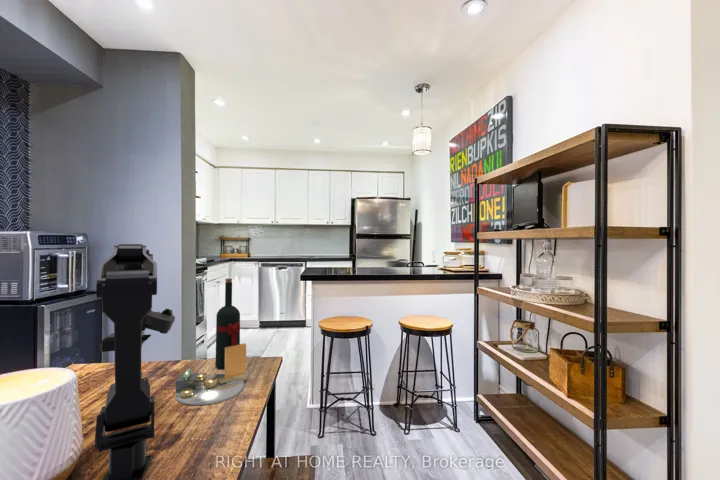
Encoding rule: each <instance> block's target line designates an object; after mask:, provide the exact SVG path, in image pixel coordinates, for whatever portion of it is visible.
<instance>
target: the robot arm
mask: <svg viewBox="0 0 720 480" xmlns="http://www.w3.org/2000/svg"><path fill="white" fill-rule="evenodd" d="M95 288H96V289H95V290H96V292H95V293H96V295H95V296H96V299H97V300H99V299H101V312H102V313H103V314H104V315H105V316H106V317H107V318H108V319H109V321H111V322H112V323H113V332H112V333H110V334H109V335H108V336H106V337H104V339H102V340H101V341H100V342H99V348H100V349H99V351H100V352H103V353H105V352H114V382H113V383H111V384H110V386H109V387H108V388H109V389H108V392H107V393H106V394H107V395H106V400H105V405H104V406H101V410H100V411H99V414H98V415H97V416H96V422H95V435H94V449H97V451H98V453H101V452H104V451H107V450H108V470H107V471H106V473H105V474H104V475H103V478H102V479H101V480H142V479H143V477H144V476H145V473H146V471H147V470H148V467H149V465H150V463H151V461H152V457H153V455H151V454H150V455H147V450H146V449H147V448H146V447H147V440H149V439H155V396H154V395H152V396H151V384H150V380H149V379H148V378H147V377H144V378H141V372H142V347H143V345H144V343H145V342H146V341H148V339H149V338H151V336H152V334H146V333H145V331H146V329H148V330H151V331H156V332H158V333H160V334H162V335H165V334H166V335H167V334H168V333H169V331H170V330H171V328H172V327H173V324H174V322H175V319H176V316H175V315H174V314H173V309H170V308H165V309H164V310H163V311H161V312H160V311H155V310H154V311H153V310H152V309H153V296H157V295H158V263H157V262H156V261H155V260H154V254H153V253H150V249H147V245H144V244H141V243H119V244H117V245H115V244H114V245H113V251H112V254H111V255H110V256H108V257H107V258H106V259H105V260H103V261H102V262H100V264H99V266H98V271H97V277H96V286H95ZM149 422H150V423H149ZM146 423H149V424H146ZM144 424H145V425H144ZM139 425H141V426H139ZM135 426H137V427H135ZM131 427H133V428H131ZM126 428H129V429H126ZM123 429H124V430H123ZM119 430H121V431H119ZM114 431H116V432H114ZM111 432H113V433H111ZM106 433H108V434H106Z"/></svg>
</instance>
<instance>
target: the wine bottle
mask: <svg viewBox="0 0 720 480" xmlns="http://www.w3.org/2000/svg"><path fill="white" fill-rule="evenodd" d="M224 285H225V286H224V287H225V289H224V291H225V293H224V295H225V296H224V306H222V307H221V308H219V310H217V313H216V318H215V319H216V322H215V323H216V324H215V329H216V330H215V331H216V332H215V365H214V366H215V368H216V369H218V370H225V347H228V346H233V345H238V344H241V341H240V340H241V313H240V310H239V308H237V307H236V306H234V305H233V278H225V284H224Z"/></svg>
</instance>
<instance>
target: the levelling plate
mask: <svg viewBox="0 0 720 480" xmlns="http://www.w3.org/2000/svg"><path fill="white" fill-rule="evenodd" d="M222 376H225V373H215V374H208V375H207V372H193V370H192V369H191V368H188V369H186V370H185V372H184V373H181V374H178V377H177V379H176V380H175V391H174V392H175V394H174V395H175V396H174V397H175V398H174V399H175V400H176V402H178V403H180V404H181V405H184V406H185V405H186V406H194V407H195V406H196V407H198V406H199V407H200V406H207V405H208V406H209V405H214V404H218V403H221V402H225V401H227V400H228V401H229V400H231V399H232V398H234V397H236V396H237V395H239V394H240V393H242V391H243V389H244V387H245V381H244V378H241V379H237V380H233V381H229V382H226V383H222V384H221V383H220V382H219V377H222ZM210 377H216V378H218V384H217V385H216V386H214V387H210V388H206V387H204V380H205V379H207V378H210Z"/></svg>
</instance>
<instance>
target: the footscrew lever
mask: <svg viewBox="0 0 720 480" xmlns="http://www.w3.org/2000/svg"><path fill="white" fill-rule="evenodd" d="M224 374H225V376H222V377H219V382H220V383H221V384H222V383H226V382H229V381H233V380H237V379H241V378H242V379H245V378H247V344H246V343H244V342H243V343H240V344H238V345H233V346H228V347H225V369H224ZM217 384H218V378H216V377H210V378H207V379H205V380H204V387H206V388H210V387H214V386H216V385H217Z"/></svg>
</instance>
